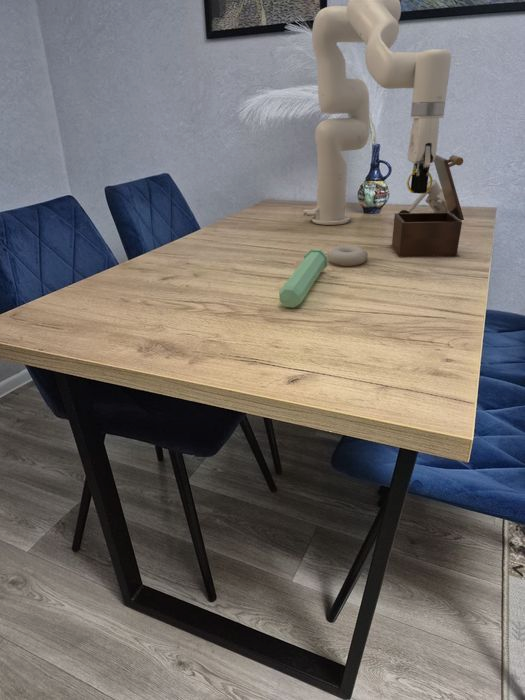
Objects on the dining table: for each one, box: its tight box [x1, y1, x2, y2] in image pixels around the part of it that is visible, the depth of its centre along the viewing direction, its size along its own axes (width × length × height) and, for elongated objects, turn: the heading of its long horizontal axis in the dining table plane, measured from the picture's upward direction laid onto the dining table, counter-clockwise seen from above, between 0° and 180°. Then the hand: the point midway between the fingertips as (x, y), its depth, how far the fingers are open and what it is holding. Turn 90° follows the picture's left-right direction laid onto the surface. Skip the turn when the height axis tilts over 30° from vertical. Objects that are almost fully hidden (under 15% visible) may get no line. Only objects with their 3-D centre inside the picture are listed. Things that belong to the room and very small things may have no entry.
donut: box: [327, 244, 368, 267], centre depth 120 cm, size 10×4×10 cm
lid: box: [433, 154, 465, 222], centre depth 119 cm, size 15×12×5 cm
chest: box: [391, 212, 463, 258], centre depth 125 cm, size 15×12×9 cm
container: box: [278, 248, 328, 309], centre depth 103 cm, size 6×6×25 cm
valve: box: [398, 179, 453, 215], centre depth 158 cm, size 10×20×15 cm
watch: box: [406, 169, 433, 195], centre depth 119 cm, size 6×3×6 cm, turn 68°
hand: (418, 191), depth 120 cm, fingers closed on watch, 2 cm apart
